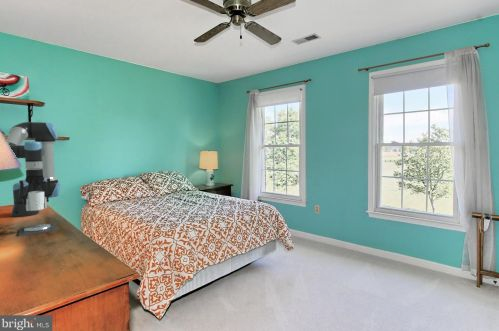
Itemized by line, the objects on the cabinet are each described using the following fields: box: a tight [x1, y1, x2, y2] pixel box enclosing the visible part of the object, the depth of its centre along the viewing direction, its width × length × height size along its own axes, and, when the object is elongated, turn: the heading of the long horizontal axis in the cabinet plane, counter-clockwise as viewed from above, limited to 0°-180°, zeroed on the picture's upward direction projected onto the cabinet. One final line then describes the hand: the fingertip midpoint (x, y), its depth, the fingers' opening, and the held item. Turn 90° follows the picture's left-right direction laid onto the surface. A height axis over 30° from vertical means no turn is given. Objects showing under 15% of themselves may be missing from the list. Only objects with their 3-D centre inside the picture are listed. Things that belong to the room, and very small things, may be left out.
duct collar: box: [18, 222, 56, 237], centre depth 154 cm, size 14×16×2 cm
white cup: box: [27, 191, 45, 211], centre depth 153 cm, size 8×8×10 cm
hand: (36, 209), depth 153 cm, fingers closed on white cup, 7 cm apart
